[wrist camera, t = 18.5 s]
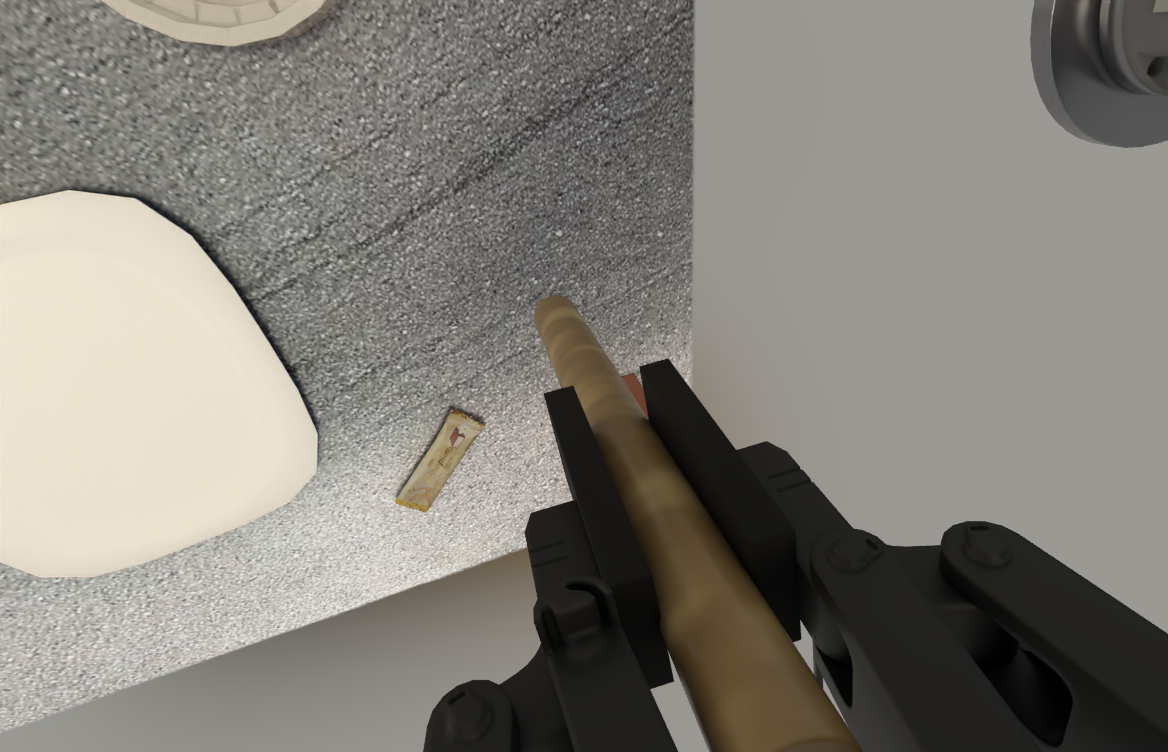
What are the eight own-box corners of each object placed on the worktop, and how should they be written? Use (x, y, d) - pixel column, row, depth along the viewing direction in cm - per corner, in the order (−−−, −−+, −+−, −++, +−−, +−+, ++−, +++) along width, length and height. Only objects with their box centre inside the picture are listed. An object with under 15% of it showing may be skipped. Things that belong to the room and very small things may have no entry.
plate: (42, 592, 50) (30, 609, 48) (-271, 300, 37) (-300, 310, 36) (358, 471, 51) (356, 484, 49) (157, 146, 38) (146, 150, 37)
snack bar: (428, 514, 53) (395, 510, 51) (423, 501, 54) (390, 497, 52) (489, 424, 50) (456, 416, 48) (482, 412, 51) (450, 404, 49)
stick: (570, 289, 27) (863, 716, 8) (581, 328, 28) (873, 809, 9) (528, 302, 27) (724, 769, 8) (540, 341, 28) (746, 857, 8)
